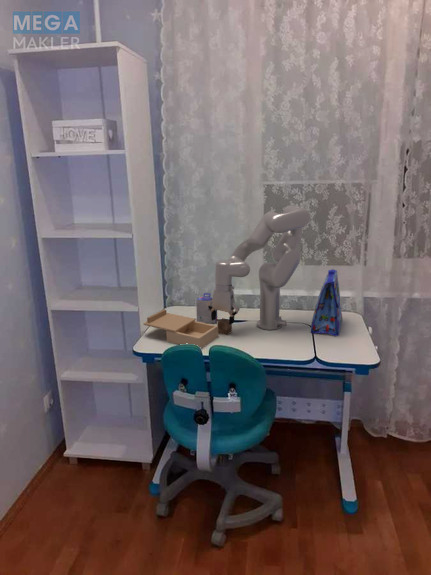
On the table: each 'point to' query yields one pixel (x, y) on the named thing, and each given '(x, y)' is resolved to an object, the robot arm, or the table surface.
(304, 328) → the table surface
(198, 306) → the ink cartridge box
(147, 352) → the table surface
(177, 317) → the lid
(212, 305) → the robot arm
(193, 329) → the mailer box
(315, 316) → the lunch bag
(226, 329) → the walnut block
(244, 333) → the table surface
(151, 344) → the table surface
